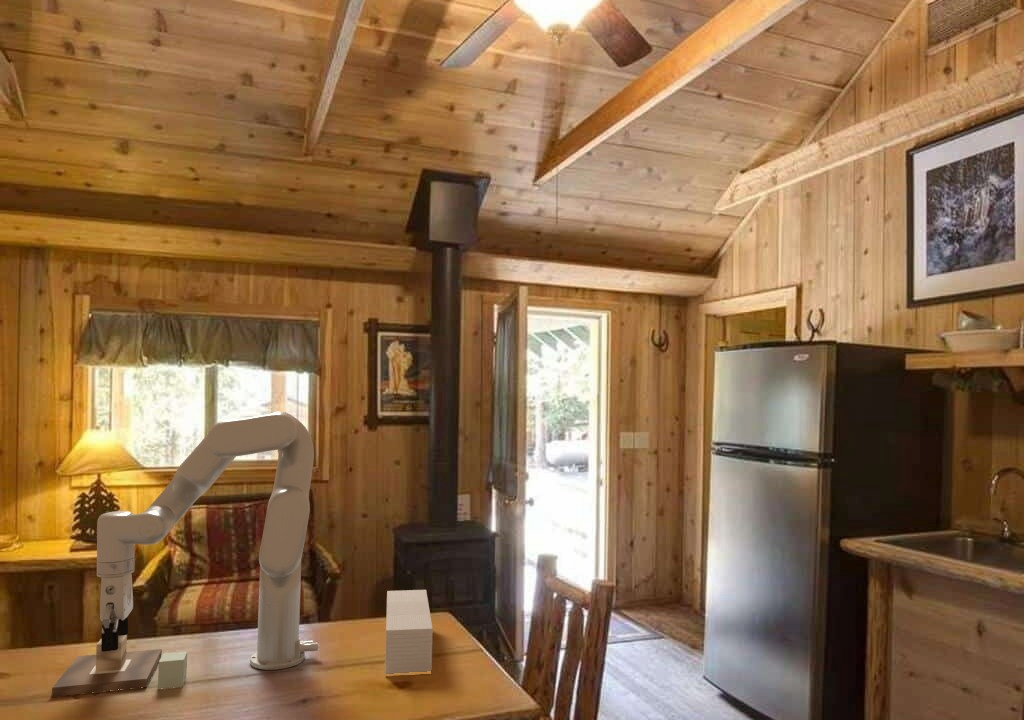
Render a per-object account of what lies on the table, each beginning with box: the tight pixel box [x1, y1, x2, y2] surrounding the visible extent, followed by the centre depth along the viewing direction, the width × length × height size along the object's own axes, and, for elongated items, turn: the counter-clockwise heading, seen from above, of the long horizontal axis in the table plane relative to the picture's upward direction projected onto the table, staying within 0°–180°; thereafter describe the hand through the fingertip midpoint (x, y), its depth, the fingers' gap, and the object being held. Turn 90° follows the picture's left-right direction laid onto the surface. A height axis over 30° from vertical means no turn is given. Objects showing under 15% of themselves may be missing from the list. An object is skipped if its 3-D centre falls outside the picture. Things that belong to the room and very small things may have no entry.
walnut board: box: [51, 648, 163, 698], centre depth 159 cm, size 18×18×2 cm
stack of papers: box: [384, 589, 434, 675], centre depth 178 cm, size 32×11×11 cm, turn 10°
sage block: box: [157, 651, 188, 690], centre depth 155 cm, size 5×5×6 cm
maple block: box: [95, 634, 128, 672], centre depth 159 cm, size 5×5×6 cm
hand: (115, 642), depth 159 cm, fingers open, 9 cm apart
